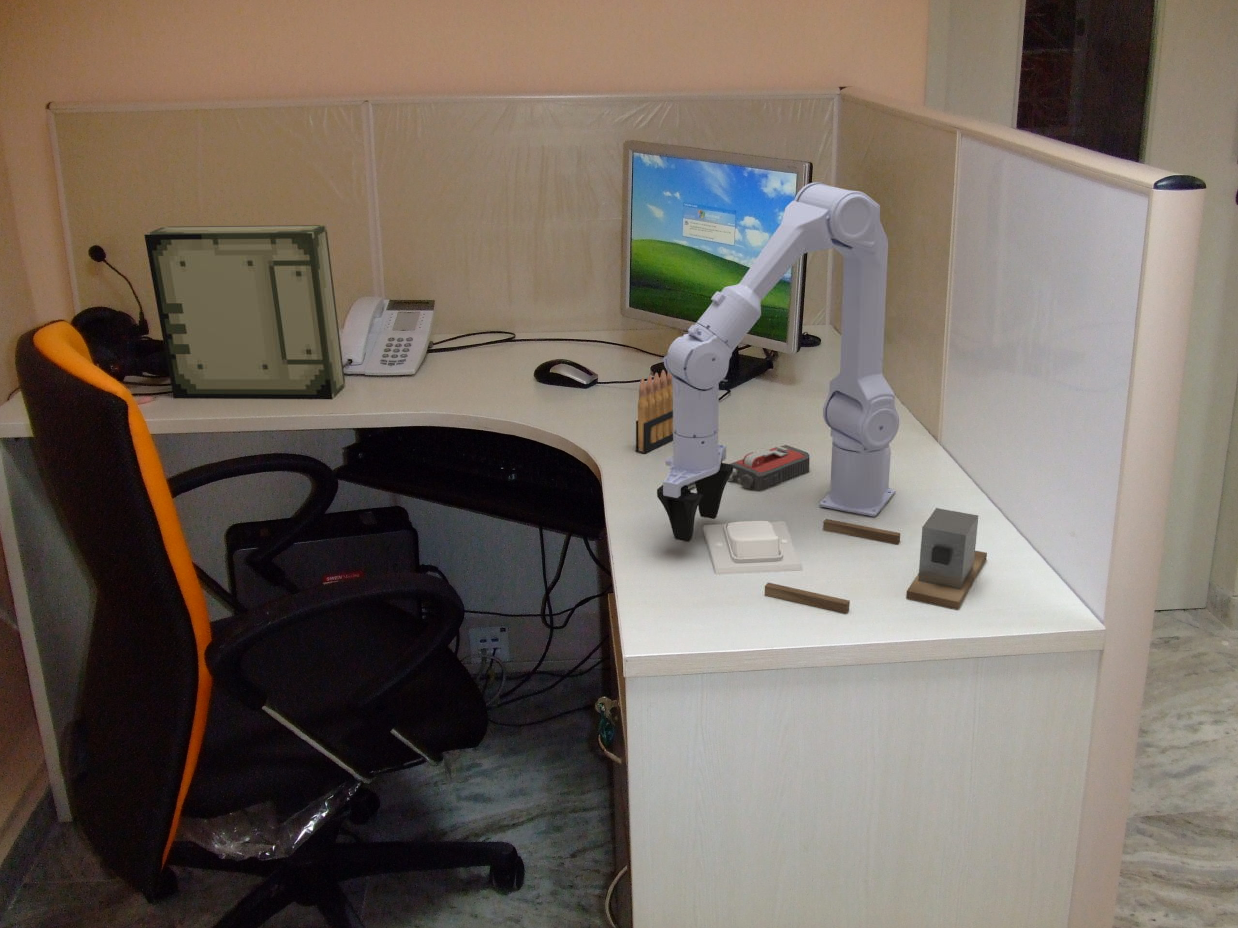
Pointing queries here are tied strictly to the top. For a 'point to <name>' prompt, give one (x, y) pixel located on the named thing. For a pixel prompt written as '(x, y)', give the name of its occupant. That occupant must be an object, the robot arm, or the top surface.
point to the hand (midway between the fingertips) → (695, 528)
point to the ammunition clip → (654, 413)
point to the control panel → (247, 311)
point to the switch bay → (825, 600)
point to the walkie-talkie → (768, 467)
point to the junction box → (948, 548)
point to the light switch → (751, 547)
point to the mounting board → (945, 588)
